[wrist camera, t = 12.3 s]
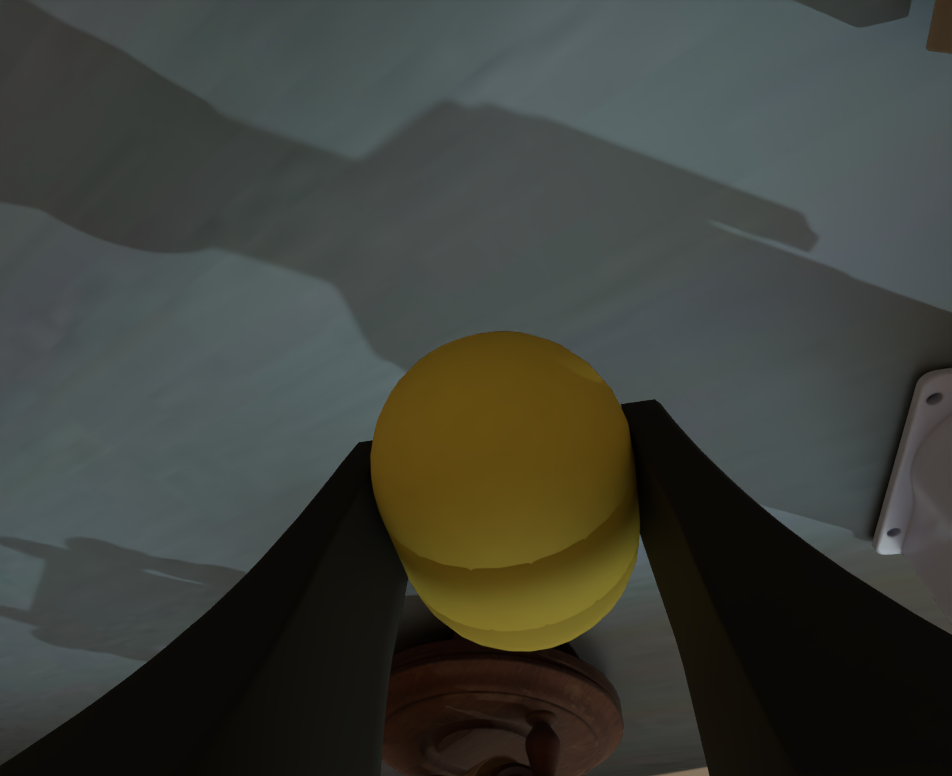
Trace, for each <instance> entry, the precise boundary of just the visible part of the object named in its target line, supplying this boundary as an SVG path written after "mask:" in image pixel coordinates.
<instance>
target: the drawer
mask: <svg viewBox="0 0 952 776" xmlns="http://www.w3.org/2000/svg"><path fill="white" fill-rule="evenodd" d="M926 49H927V50H928V51H934V52H942V53H950V54H952V0H936V2H935V6H934V11H933V16H932V21H931V26H930V31H929V36H928V40H927V45H926Z"/></svg>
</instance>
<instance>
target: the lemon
mask: <svg viewBox="0 0 952 776" xmlns="http://www.w3.org/2000/svg"><path fill="white" fill-rule="evenodd" d="M370 457H371V479H372V486H373V493H374V496H375V499H376V503H377V506H378V509H379V513H380V515H381V517H382V520H383V522H384V525H385V527H386V529H387V531H388V533H389V536H390V538H391V540H392V542H393V544H394V547H395V549H396V551H397V553H398V555H399V558H400V560H401V562H402V564H403V567H404V569H405V571H406V573H407V575H408V578H409V580H410V582H411V584H412V585H413V587H414V589H415V590H416V592H417V593H418V595H419V596H420V598H421V600H422V601H423V602H424V603H425V605H426V606H427V607H428V608H429V609H430V611H431V612H432V613H433V614H434V616H435V617H437V618H438V619H439V620H441V621H442V622H443V623H445V624H446V625H447V626H449V627H450V628H451V629H453V630H454V631H455V632H457V633H458V634H459V635H461V636H462V637H464V638H466V639H468V640H471V641H473V642H475V643H478V644H480V645H482V646H487V647H491V648H496V649H501V650H506V651H537V650H542V649H548V648H553V647H555V646H558V645H561V644H563V643H566V642H569V641H571V640H573V639H575V638H576V637H578V636H579V635H581V634H583V633H584V632H586V631H588V630H589V629H591V628H592V627H593V626H595V625H596V624H597V623H598V622H599V621H600V620H601V619H602V618H603V617H604V616H605V615H606V614H607V613H609V612H610V611H611V610H612V608H613V607H614V605H615V604H616V602H617V601H618V599H619V598H620V597H621V595H622V594H623V592H624V590H625V588H626V585H627V583H628V581H629V578H630V576H631V573H632V571H633V568H634V566H635V563H636V560H637V553H638V545H639V534H640V514H639V502H638V489H637V477H636V464H635V454H634V451H633V445H632V440H631V435H630V429H629V424H628V421H627V419H626V417H625V415H624V413H623V411H622V408H621V406H620V404H619V403H618V401H617V399H616V397H615V395H614V393H613V391H612V389H611V388H610V387H609V386H608V385H607V384H606V382H605V381H604V380H603V379H602V378H601V377H600V376H599V375H598V373H597V372H596V371H595V370H594V369H593V368H592V367H591V366H590V365H589V363H587V362H586V361H584V360H583V359H581V358H580V357H578V356H577V355H575V354H574V353H572V352H571V351H569V350H568V349H566V348H565V347H563V346H561V345H559V344H557V343H555V342H552V341H550V340H547V339H544V338H540V337H537V336H533V335H529V334H525V333H521V332H510V331H500V332H488V333H480V334H476V335H471V336H467V337H464V338H461V339H458V340H454V341H452V342H450V343H447V344H445V345H443V346H441V347H439V348H437V349H435V350H434V351H432V352H430V353H429V354H427V355H426V356H425V357H423V358H422V359H420V360H419V361H418V362H417V363H416V364H415V365H414V366H413V367H412V368H411V369H410V370H409V371H408V372H407V373H406V374H405V375H404V376H403V377H402V378H401V379H400V380H399V382H398V383H397V385H396V386H395V387H394V389H393V390H392V392H391V393H390V395H389V397H388V399H387V401H386V403H385V405H384V407H383V409H382V411H381V413H380V416H379V418H378V420H377V424H376V428H375V433H374V437H373V442H372V449H371V455H370Z"/></svg>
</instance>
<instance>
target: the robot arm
mask: <svg viewBox="0 0 952 776" xmlns="http://www.w3.org/2000/svg"><path fill="white" fill-rule="evenodd" d="M932 394H934V395H933V396H931V395H932ZM929 396H931V397H929ZM928 397H929V398H928ZM621 408H622V411H623V413H624V415H625V417H626V419H627V421H628V424H629V429H630V435H631V440H632V445H633V451H634V454H635V464H636V477H637V489H638V502H639V514H640V535H641V538H642V541H643V544H644V547H645V550H646V553H647V556H648V559H649V562H650V565H651V568H652V571H653V574H654V577H655V580H656V583H657V586H658V589H659V592H660V594H661V597H662V600H663V603H664V606H665V609H666V612H667V615H668V618H669V621H670V624H671V627H672V630H673V633H674V636H675V639H676V642H677V645H678V649H679V652H680V656H681V659H682V662H683V666H684V670H685V675H686V679H687V683H688V687H689V691H690V695H691V699H692V704H693V708H694V712H695V716H696V720H697V724H698V729H699V733H700V737H701V742H702V746H703V750H704V754H705V759H706V763H707V767H708V771H709V776H952V635H951V634H949V633H948V632H946V631H944V630H942V629H941V628H939V627H937V626H935V625H933V624H932V623H930V622H928V621H926V620H925V619H923V618H921V617H919V616H918V615H916V614H914V613H913V612H911V611H910V610H908V609H906V608H905V607H903V606H902V605H900V604H898V603H897V602H895V601H894V600H892V599H890V598H889V597H887V596H886V595H884V594H882V593H881V592H879V591H878V590H876V589H875V588H873V587H871V586H870V585H868V584H867V583H865V582H863V581H862V580H860V579H859V578H857V577H855V576H854V575H852V574H851V573H849V572H848V571H846V570H845V569H843V568H842V567H841V566H839V565H838V564H836V563H835V562H833V561H832V560H831V559H829V558H828V557H826V556H825V555H823V554H822V553H821V552H819V551H818V550H816V549H815V548H814V547H812V546H811V545H810V544H808V543H807V542H806V541H804V540H803V539H802V538H800V537H799V536H798V535H796V534H795V533H794V532H792V531H791V530H790V529H788V528H787V527H786V526H785V525H783V524H782V523H781V522H779V521H778V520H777V519H776V518H775V517H773V516H772V515H771V514H770V513H768V512H767V511H766V510H765V509H764V508H762V507H761V506H760V505H759V504H758V503H757V502H756V501H754V500H753V499H752V498H751V497H750V496H749V495H747V494H746V493H745V492H744V491H743V490H742V489H741V488H740V487H738V486H737V485H736V484H735V483H734V482H733V481H732V480H731V479H730V478H729V477H728V476H727V475H726V474H725V473H724V472H723V471H722V470H720V469H719V468H718V467H717V466H716V465H715V464H714V463H713V462H712V461H711V460H710V459H709V458H708V457H707V456H706V455H705V454H704V453H703V452H702V451H701V450H700V449H699V448H698V447H697V445H696V444H695V443H694V442H693V441H692V440H691V439H690V438H689V437H688V436H687V435H686V434H685V432H684V431H683V430H682V429H681V428H680V427H679V426H678V424H677V423H676V422H675V421H674V420H673V419H672V417H671V416H670V415H669V414H668V412H667V411H666V410H665V409H664V407H663V406H662V405H661V404H660V403H659V402H658V401H656V400H655V399H654V400H647V401H640V402H633V403H626V404H621ZM372 442H373V440H372V441H365V442H359V443H358V444H357V445H356V446H355V447H354V449H353V450H352V451H351V452H350V453H349V455H348V456H347V457H346V458H345V460H344V461H343V462H342V463H341V465H340V466H339V467H338V468H337V470H336V471H335V472H334V474H333V475H332V476H331V477H330V479H329V480H328V481H327V482H326V484H325V485H324V486H323V487H322V489H321V490H320V491H319V492H318V494H317V495H316V496H315V497H314V498H313V500H312V501H311V502H310V503H309V505H308V506H307V507H306V508H305V510H304V511H303V512H302V513H301V514H300V516H299V517H298V518H297V519H296V520H295V521H294V523H293V524H292V525H291V526H290V527H289V528H288V529H287V530H286V532H285V533H284V534H283V535H282V536H281V537H280V538H279V539H278V541H277V542H276V543H275V544H274V545H273V546H272V547H271V548H270V550H269V551H268V552H267V553H266V554H265V555H264V556H263V557H262V559H261V560H260V561H259V562H258V563H257V564H256V565H255V566H254V567H253V568H252V569H251V570H250V571H249V572H248V573H247V574H246V575H245V576H244V577H243V578H242V579H241V580H240V581H239V582H238V583H237V584H236V585H235V586H234V587H233V588H232V589H231V590H230V591H229V592H228V593H227V594H226V595H225V596H224V597H223V598H221V599H220V600H219V601H218V602H217V603H216V604H215V605H214V606H213V607H212V608H211V609H210V610H209V611H207V612H206V613H205V614H204V615H203V616H202V617H201V618H199V619H198V620H197V621H196V622H195V623H194V624H192V625H191V626H190V627H189V628H188V629H187V630H185V631H184V632H183V633H182V634H181V635H180V636H178V637H177V638H176V639H175V640H174V641H172V642H171V643H170V644H169V645H168V646H167V647H165V648H164V649H163V650H162V651H161V652H160V653H158V654H157V655H156V656H155V657H153V658H152V659H151V660H150V661H148V662H147V663H146V664H144V665H143V666H142V667H141V668H139V669H138V670H137V671H135V672H134V673H133V674H132V675H130V676H129V677H128V678H126V679H125V680H124V681H122V682H121V683H120V684H118V685H117V686H116V687H114V688H113V689H112V690H110V691H109V692H108V693H106V694H105V695H104V696H102V697H101V698H99V699H98V700H97V701H95V702H94V703H93V704H91V705H90V706H88V707H87V708H86V709H84V710H83V711H81V712H80V713H79V714H77V715H76V716H74V717H73V718H71V719H70V720H68V721H67V722H65V723H64V724H62V725H61V726H59V727H58V728H56V729H55V730H53V731H52V732H50V733H49V734H47V735H46V736H44V737H43V738H41V739H40V740H38V741H37V742H35V743H34V744H33V745H31V746H30V747H28V748H27V749H25V750H24V751H22V752H21V753H19V754H18V755H16V756H15V757H13V758H11V759H10V760H8V761H7V762H5V763H4V764H2V765H0V776H380V773H381V760H382V747H383V734H384V724H385V713H386V703H387V692H388V683H389V677H390V670H391V664H392V658H393V653H394V648H395V643H396V638H397V633H398V627H399V622H400V617H401V612H402V607H403V602H404V597H405V592H406V587H407V581H408V575H407V573H406V571H405V569H404V567H403V564H402V562H401V560H400V558H399V555H398V553H397V551H396V549H395V547H394V544H393V542H392V540H391V538H390V536H389V533H388V531H387V529H386V527H385V525H384V522H383V520H382V517H381V515H380V513H379V509H378V506H377V503H376V499H375V496H374V493H373V486H372V479H371V457H370V455H371V449H372ZM872 546H873V547H874V549H875V550H876V551H877V552H878V553H879V554H883V555H889V554H899V553H902V554H903V556H904V557H905V558H906V560H907V561H908V563H909V564H910V565H911V567H912V568H913V569H914V571H915V572H916V574H917V575H918V576H919V578H920V579H921V581H922V582H923V583H924V585H925V586H926V588H927V589H928V590H929V592H930V593H931V595H932V596H933V597H934V599H935V600H936V602H937V603H938V604H939V606H940V607H941V609H942V610H943V611H944V613H945V614H946V616H947V617H948V618H949V620H950V621H951V623H952V368H946V369H939V370H934V371H930V372H928V373H926V374H924V375H923V376H922V377H921V378H920V379H919V380H918V382H917V384H916V387H915V391H914V394H913V398H912V401H911V405H910V409H909V412H908V416H907V419H906V423H905V427H904V430H903V434H902V437H901V441H900V445H899V448H898V452H897V455H896V459H895V462H894V466H893V470H892V473H891V477H890V480H889V484H888V488H887V491H886V495H885V498H884V502H883V506H882V509H881V513H880V516H879V520H878V524H877V527H876V531H875V534H874V538H873V541H872Z"/></svg>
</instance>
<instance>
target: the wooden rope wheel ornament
mask: <svg viewBox="0 0 952 776" xmlns="http://www.w3.org/2000/svg"><path fill="white" fill-rule="evenodd" d="M623 731H624V723H623V718H622V711H621V705H620V700H619V697H618V694H617V692H616V690H615V688H614V687H613V685H612V684H611V683H610V681H609V680H608V679H607V678H606V677H605V676H604V675H603V674H602V673H600V672H599V671H598V670H596V669H595V668H594V667H592V666H591V665H589V664H587V663H586V662H584V661H582V660H580V659H578V658H576V657H574V656H572V655H570V654H567V653H564V652H562V651H559V650H556V649H553V648H548V649H542V650H537V651H506V650H501V649H496V648H491V647H487V646H482V645H480V644H478V643H475V642H473V641H471V640H468V639H466V638H464V637H462V636H461V635H459V634H458V633H457V632H454V636H453V639H452V640H444V641H438V642H432V643H428V644H424V645H420V646H417V647H413V648H410V649H407V650H405V651H402V652H400V653H397V654H395V655H393V658H392V664H391V670H390V677H389V683H388V692H387V703H386V713H385V724H384V734H383V747H382V760H383V761H384V762H385V763H387V764H388V765H389V766H391V767H392V768H393V769H395V770H397V771H398V772H400V773H402V774H404V775H406V776H583V775H584V774H586V773H587V772H589V771H590V770H592V769H593V768H594V767H595V766H597V765H598V764H600V763H601V762H603V761H604V760H605V759H607V758H608V757H609V756H610V755H611V754H612V753H613V752H614V751H615V750H616V748H617V746H618V745H619V743H620V741H621V739H622V736H623Z"/></svg>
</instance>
